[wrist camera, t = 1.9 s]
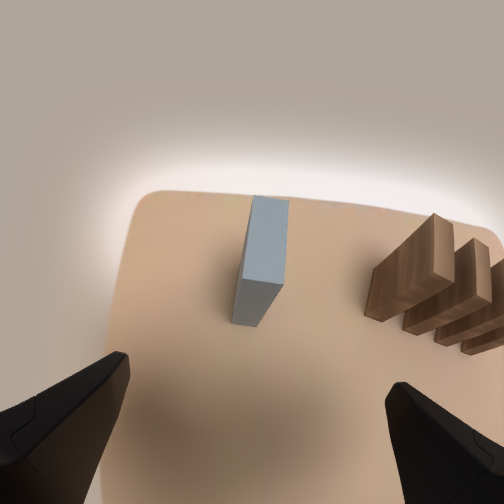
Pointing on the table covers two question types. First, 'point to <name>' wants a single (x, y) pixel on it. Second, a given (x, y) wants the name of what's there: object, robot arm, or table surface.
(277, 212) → the domino
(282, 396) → the table surface
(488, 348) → the domino
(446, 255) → the domino
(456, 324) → the domino
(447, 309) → the domino
